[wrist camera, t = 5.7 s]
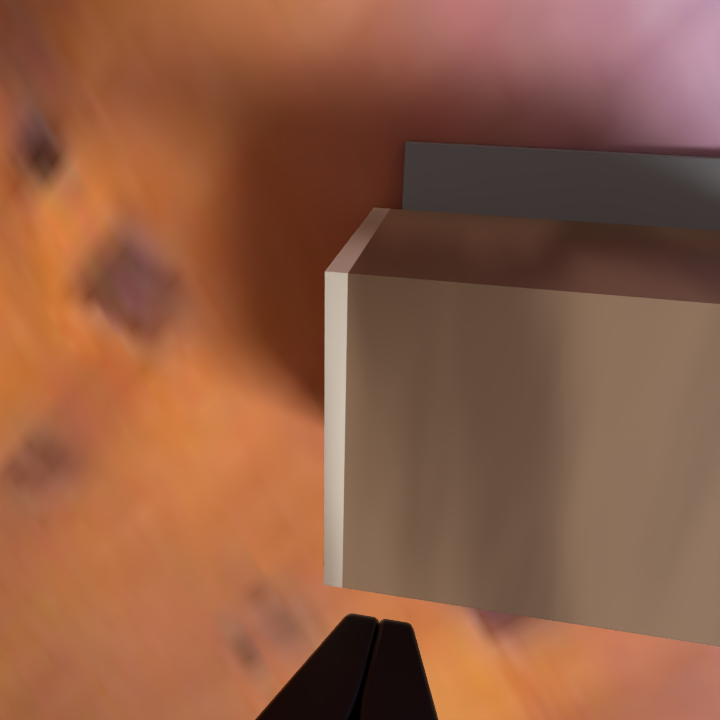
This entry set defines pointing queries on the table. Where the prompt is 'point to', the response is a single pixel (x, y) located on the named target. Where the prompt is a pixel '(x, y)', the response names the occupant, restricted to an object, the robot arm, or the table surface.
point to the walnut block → (527, 419)
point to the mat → (563, 184)
